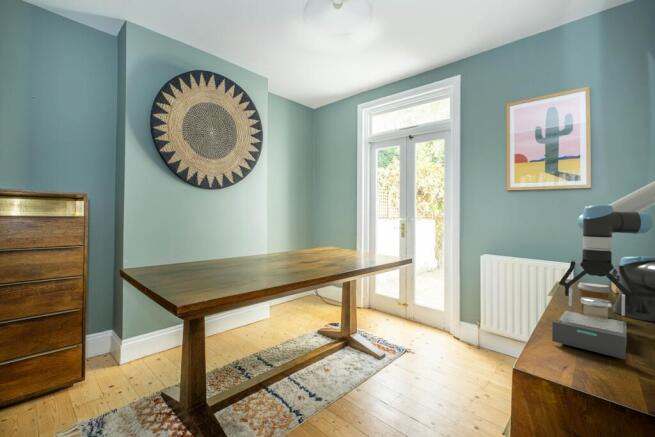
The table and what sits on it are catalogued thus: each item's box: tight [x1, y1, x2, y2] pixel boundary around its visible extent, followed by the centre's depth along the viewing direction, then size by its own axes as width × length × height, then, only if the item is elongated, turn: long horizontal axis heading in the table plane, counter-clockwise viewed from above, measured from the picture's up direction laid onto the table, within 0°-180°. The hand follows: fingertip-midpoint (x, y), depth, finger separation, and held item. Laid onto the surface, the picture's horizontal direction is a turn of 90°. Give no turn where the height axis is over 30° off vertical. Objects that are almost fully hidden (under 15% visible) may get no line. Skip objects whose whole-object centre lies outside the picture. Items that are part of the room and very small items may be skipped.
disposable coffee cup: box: [577, 281, 612, 314], centre depth 113 cm, size 10×10×12 cm
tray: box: [551, 320, 627, 360], centre depth 84 cm, size 14×15×6 cm
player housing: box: [558, 310, 627, 337], centre depth 92 cm, size 15×15×4 cm
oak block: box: [584, 304, 609, 319], centre depth 102 cm, size 6×6×7 cm
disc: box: [580, 297, 613, 309], centre depth 102 cm, size 8×8×2 cm
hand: (595, 310), depth 102 cm, fingers open, 13 cm apart
